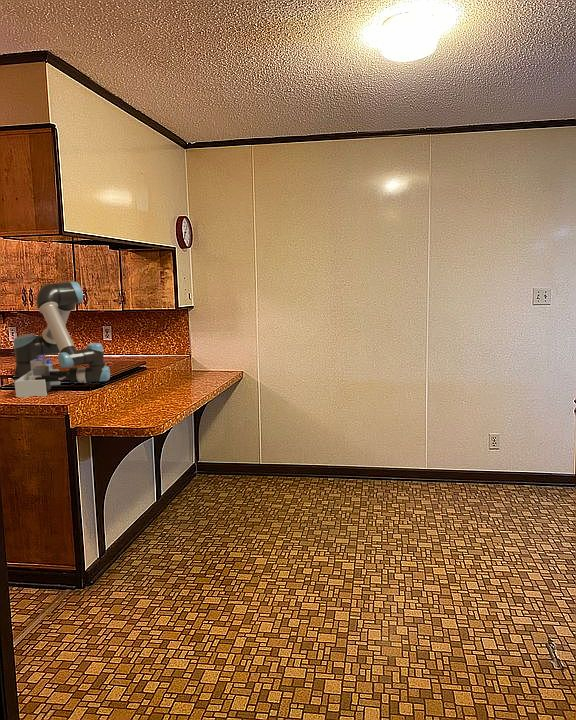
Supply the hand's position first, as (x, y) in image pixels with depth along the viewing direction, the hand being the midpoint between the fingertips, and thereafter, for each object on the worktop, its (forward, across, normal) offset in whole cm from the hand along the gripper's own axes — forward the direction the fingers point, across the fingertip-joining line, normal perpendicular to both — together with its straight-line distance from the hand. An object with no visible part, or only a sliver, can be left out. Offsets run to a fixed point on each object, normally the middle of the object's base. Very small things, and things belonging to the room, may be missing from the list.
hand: (31, 377), depth 315 cm
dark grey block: (-5, 0, -7) cm, 9 cm away
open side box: (-3, 0, -7) cm, 8 cm away
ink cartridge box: (+1, +20, -7) cm, 21 cm away
